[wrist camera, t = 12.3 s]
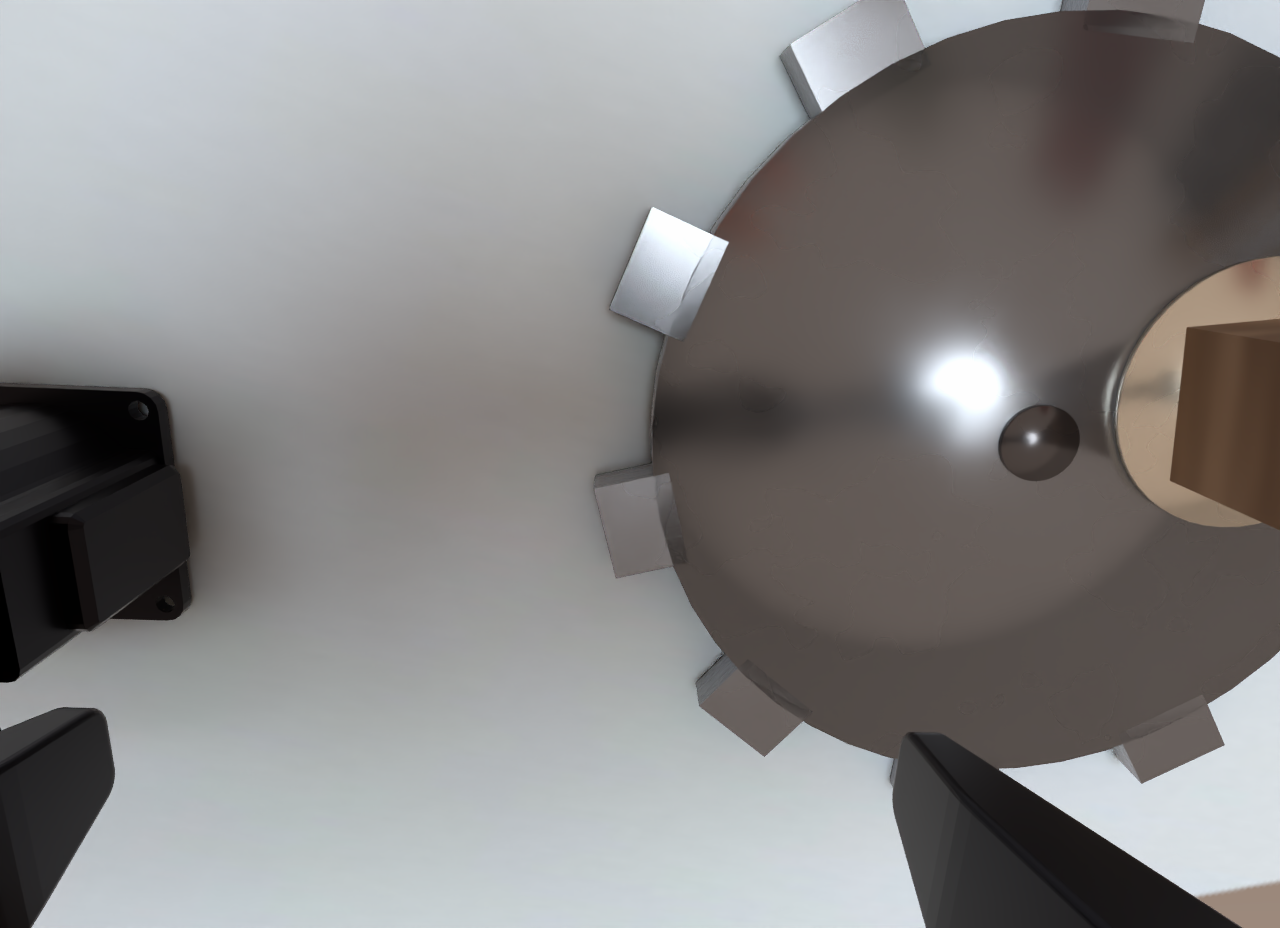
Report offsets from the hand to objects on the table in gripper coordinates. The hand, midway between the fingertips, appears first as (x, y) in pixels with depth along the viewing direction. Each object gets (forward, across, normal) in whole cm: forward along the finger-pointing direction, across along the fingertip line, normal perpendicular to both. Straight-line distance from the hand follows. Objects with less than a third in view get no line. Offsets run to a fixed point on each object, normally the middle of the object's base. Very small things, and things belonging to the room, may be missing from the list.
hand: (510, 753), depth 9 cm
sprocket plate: (+13, -12, -1) cm, 18 cm away
